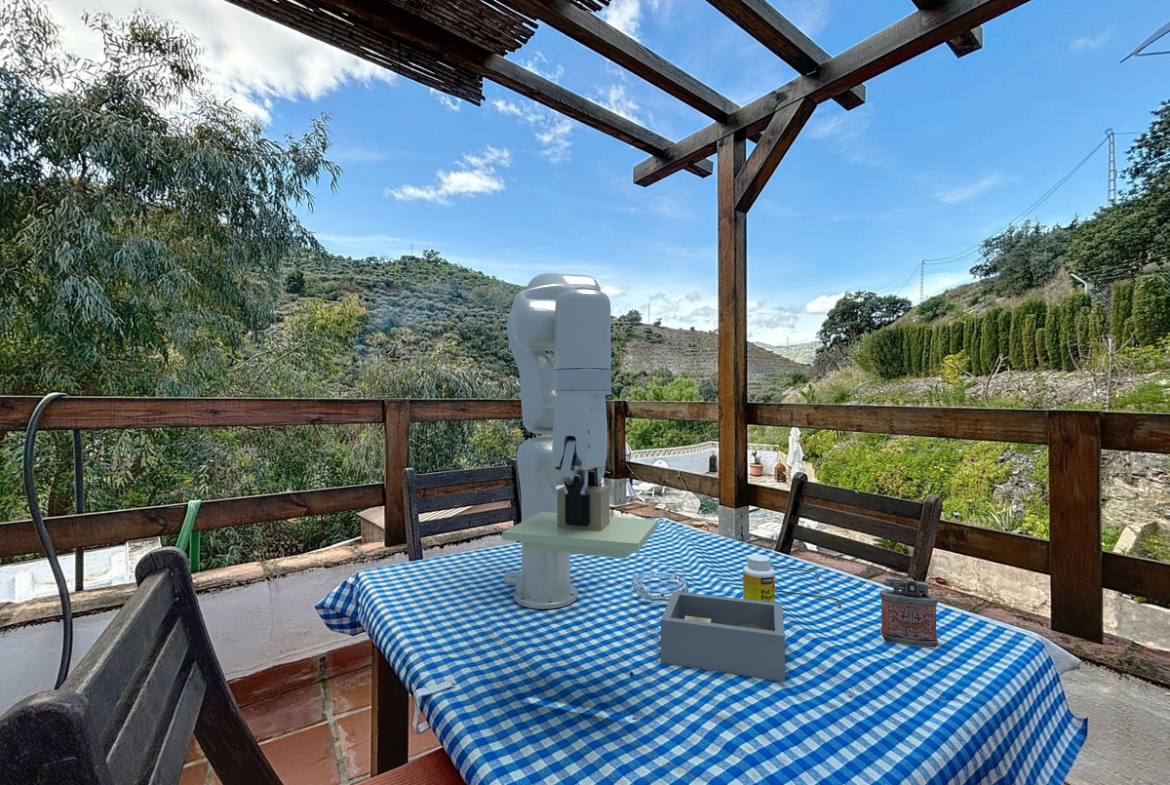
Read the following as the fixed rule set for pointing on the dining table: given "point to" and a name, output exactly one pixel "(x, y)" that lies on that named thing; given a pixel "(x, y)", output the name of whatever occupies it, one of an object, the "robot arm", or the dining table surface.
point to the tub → (724, 635)
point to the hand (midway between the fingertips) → (583, 519)
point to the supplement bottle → (759, 579)
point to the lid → (584, 530)
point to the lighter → (908, 613)
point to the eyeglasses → (805, 594)
